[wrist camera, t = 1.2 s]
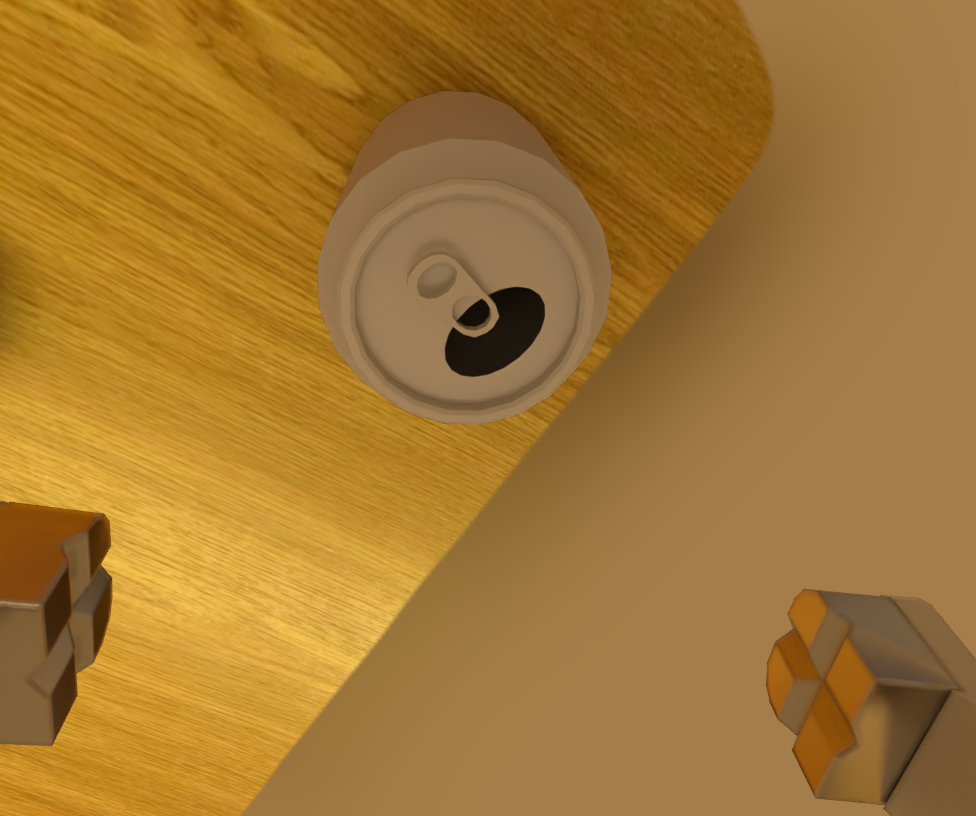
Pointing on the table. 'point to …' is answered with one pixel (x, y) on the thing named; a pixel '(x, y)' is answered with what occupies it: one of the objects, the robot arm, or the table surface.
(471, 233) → the can
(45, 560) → the robot arm
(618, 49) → the table surface
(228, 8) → the table surface
